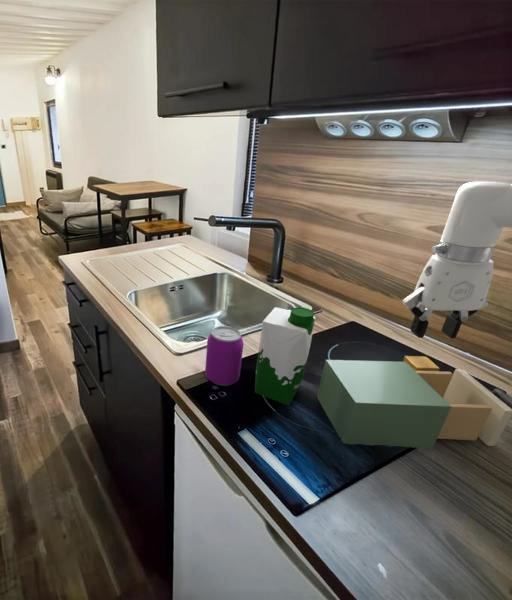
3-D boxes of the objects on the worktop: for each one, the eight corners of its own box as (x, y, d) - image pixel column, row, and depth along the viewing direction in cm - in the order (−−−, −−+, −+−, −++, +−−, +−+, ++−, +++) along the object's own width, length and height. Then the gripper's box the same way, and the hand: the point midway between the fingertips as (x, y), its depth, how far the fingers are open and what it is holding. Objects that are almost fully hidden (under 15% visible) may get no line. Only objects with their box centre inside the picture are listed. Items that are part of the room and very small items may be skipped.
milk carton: (292, 410, 74) (310, 324, 65) (248, 393, 79) (259, 311, 71) (304, 387, 80) (321, 306, 71) (262, 373, 85) (273, 295, 77)
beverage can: (210, 389, 81) (213, 343, 76) (201, 368, 88) (203, 325, 83) (244, 386, 81) (250, 341, 76) (232, 366, 88) (237, 323, 83)
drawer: (479, 402, 72) (495, 369, 69) (531, 447, 62) (553, 412, 58) (375, 397, 74) (385, 366, 71) (408, 441, 64) (422, 407, 61)
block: (420, 372, 82) (426, 356, 80) (433, 385, 78) (439, 368, 76) (398, 371, 83) (404, 355, 81) (410, 384, 79) (416, 367, 77)
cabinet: (392, 400, 75) (405, 361, 71) (432, 448, 64) (451, 406, 60) (316, 397, 77) (325, 359, 73) (343, 444, 66) (355, 402, 62)
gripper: (426, 258, 66) (397, 343, 74) (534, 257, 63) (493, 345, 71) (401, 246, 72) (377, 325, 80) (498, 244, 70) (464, 326, 78)
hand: (432, 334), depth 76 cm, fingers open, 5 cm apart
